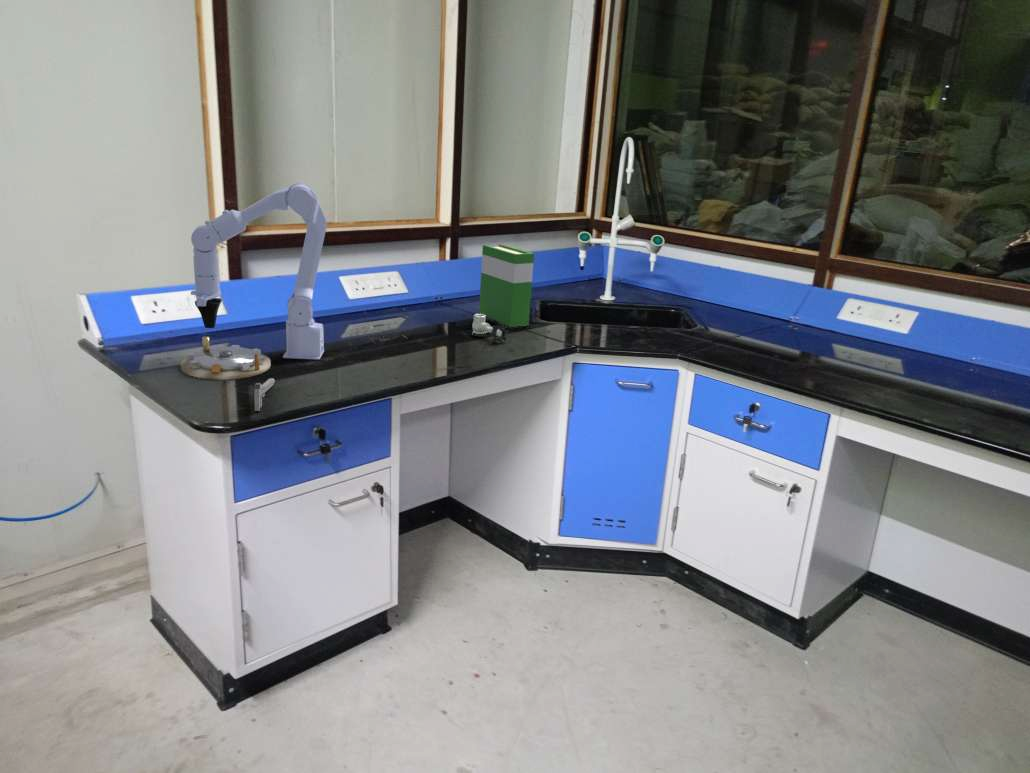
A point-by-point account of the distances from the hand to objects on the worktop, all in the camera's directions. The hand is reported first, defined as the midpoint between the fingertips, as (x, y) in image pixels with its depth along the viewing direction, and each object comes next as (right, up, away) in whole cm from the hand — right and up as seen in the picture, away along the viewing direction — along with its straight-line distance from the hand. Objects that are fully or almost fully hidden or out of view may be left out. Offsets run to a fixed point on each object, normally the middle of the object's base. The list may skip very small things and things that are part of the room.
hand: (210, 327), depth 194 cm
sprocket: (+6, -9, -4) cm, 11 cm away
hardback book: (+74, +6, +58) cm, 94 cm away
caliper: (+21, -18, -21) cm, 35 cm away
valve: (+69, -1, +37) cm, 78 cm away
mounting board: (+6, -10, -4) cm, 12 cm away
